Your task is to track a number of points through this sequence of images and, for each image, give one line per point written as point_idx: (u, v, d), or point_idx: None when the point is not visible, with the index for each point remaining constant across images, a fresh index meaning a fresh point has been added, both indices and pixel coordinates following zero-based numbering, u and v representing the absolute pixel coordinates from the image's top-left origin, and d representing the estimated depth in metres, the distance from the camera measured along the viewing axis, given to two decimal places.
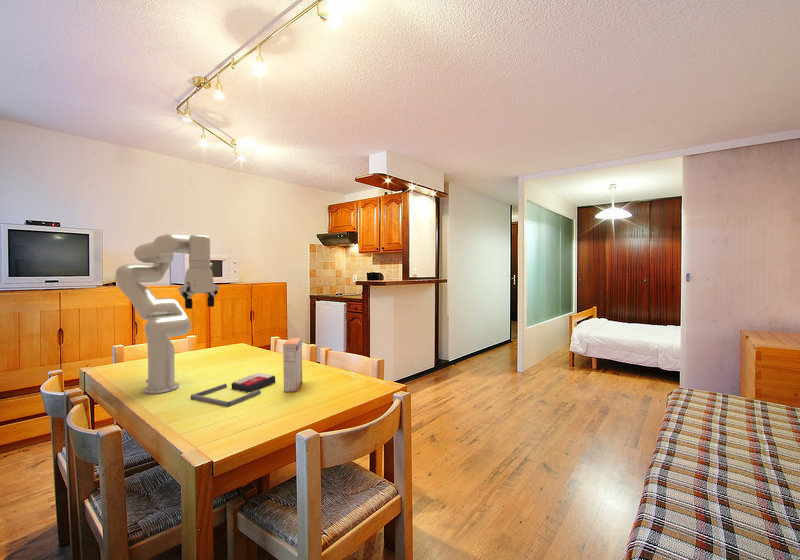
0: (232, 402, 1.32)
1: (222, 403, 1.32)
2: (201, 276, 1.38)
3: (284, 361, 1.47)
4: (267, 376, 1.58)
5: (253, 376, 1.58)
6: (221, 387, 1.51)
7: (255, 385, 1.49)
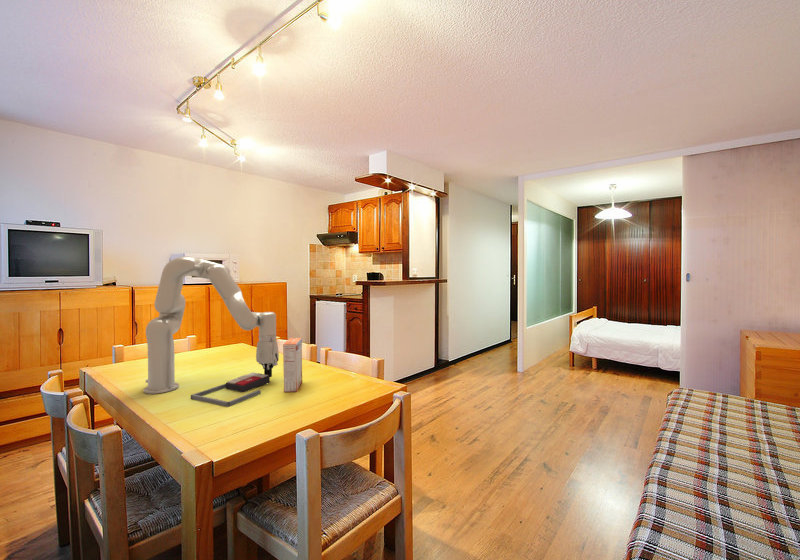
0: (232, 402, 1.32)
1: (222, 403, 1.32)
2: None
3: (284, 361, 1.47)
4: (261, 376, 1.58)
5: (247, 376, 1.58)
6: (221, 387, 1.51)
7: (249, 385, 1.50)
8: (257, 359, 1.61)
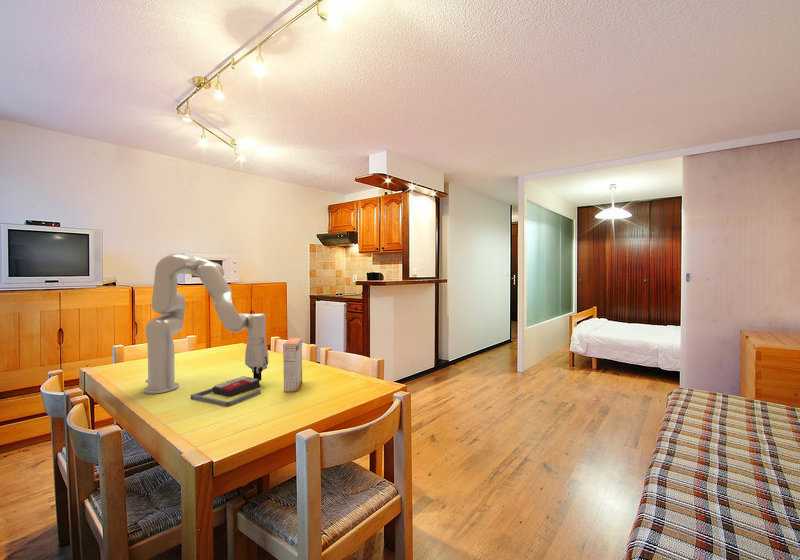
0: (232, 402, 1.32)
1: (222, 403, 1.32)
2: None
3: (284, 361, 1.47)
4: (251, 380, 1.52)
5: (237, 380, 1.52)
6: None
7: (236, 389, 1.44)
8: (246, 362, 1.56)
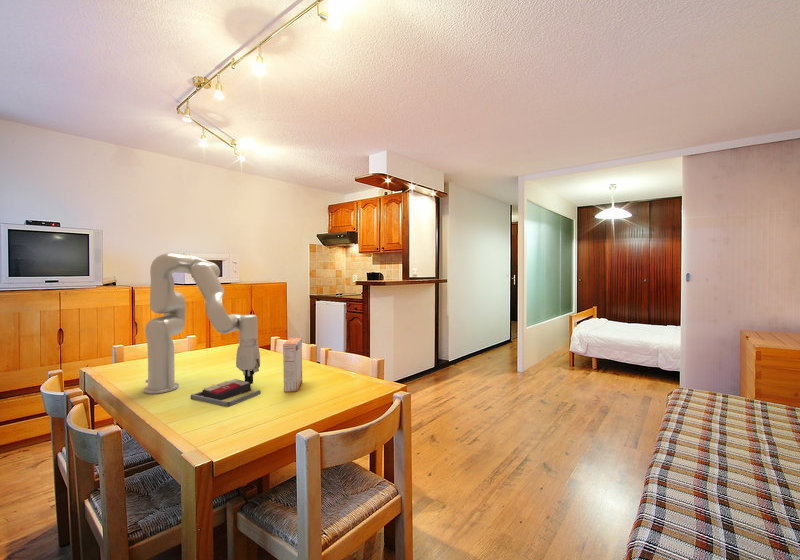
0: (232, 402, 1.32)
1: (222, 403, 1.32)
2: None
3: (284, 361, 1.47)
4: (242, 383, 1.47)
5: (227, 383, 1.48)
6: None
7: (225, 393, 1.39)
8: (237, 365, 1.51)
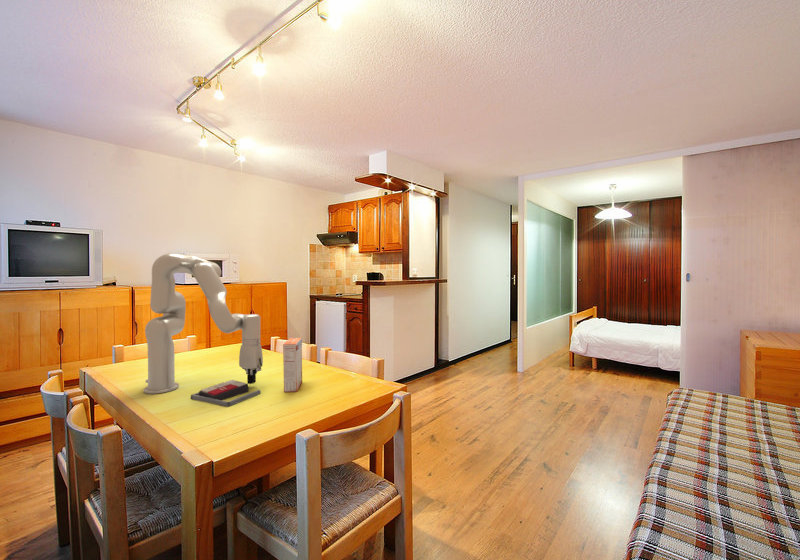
0: (232, 402, 1.32)
1: (222, 403, 1.32)
2: None
3: (284, 361, 1.47)
4: (239, 384, 1.46)
5: (224, 384, 1.46)
6: None
7: (222, 394, 1.38)
8: (240, 364, 1.53)
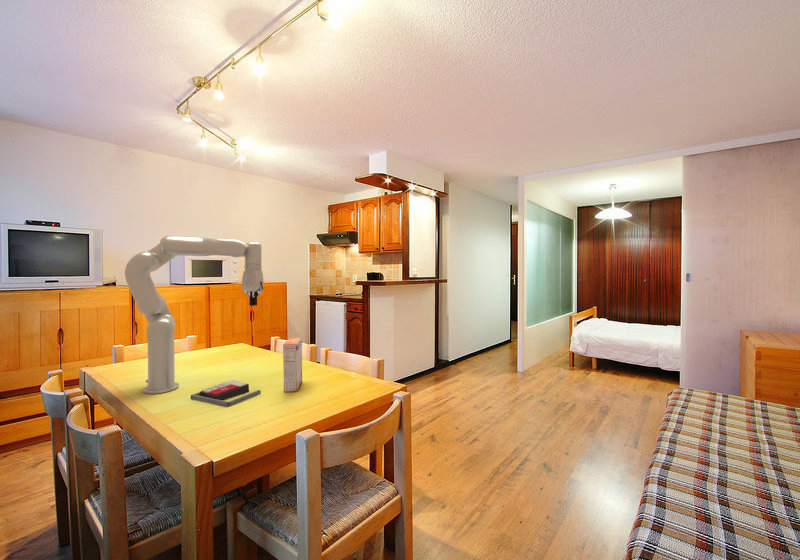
0: (232, 402, 1.32)
1: (222, 403, 1.32)
2: None
3: (284, 361, 1.47)
4: (240, 384, 1.46)
5: (225, 384, 1.46)
6: None
7: (224, 394, 1.38)
8: (243, 287, 1.67)
